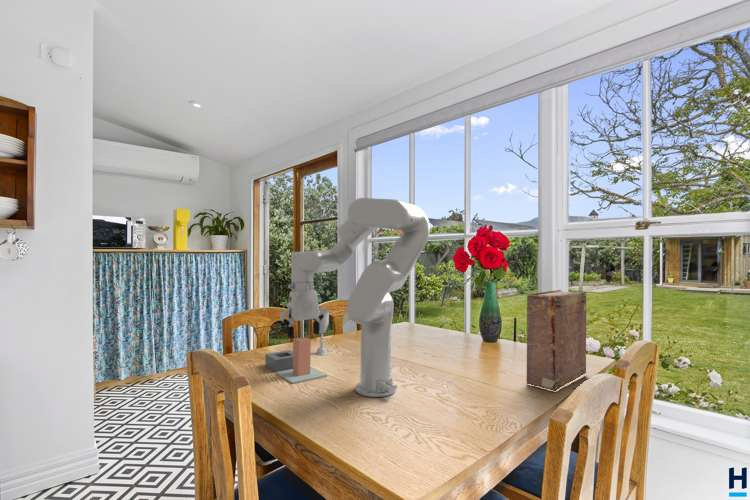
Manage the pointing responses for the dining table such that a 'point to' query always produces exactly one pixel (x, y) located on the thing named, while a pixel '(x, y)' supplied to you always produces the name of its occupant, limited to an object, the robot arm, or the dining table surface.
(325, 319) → the chalice
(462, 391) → the dining table surface
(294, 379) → the mat
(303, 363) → the plug
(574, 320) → the book
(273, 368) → the grey square socket block
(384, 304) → the robot arm
